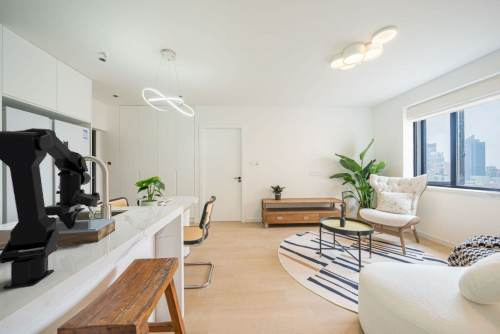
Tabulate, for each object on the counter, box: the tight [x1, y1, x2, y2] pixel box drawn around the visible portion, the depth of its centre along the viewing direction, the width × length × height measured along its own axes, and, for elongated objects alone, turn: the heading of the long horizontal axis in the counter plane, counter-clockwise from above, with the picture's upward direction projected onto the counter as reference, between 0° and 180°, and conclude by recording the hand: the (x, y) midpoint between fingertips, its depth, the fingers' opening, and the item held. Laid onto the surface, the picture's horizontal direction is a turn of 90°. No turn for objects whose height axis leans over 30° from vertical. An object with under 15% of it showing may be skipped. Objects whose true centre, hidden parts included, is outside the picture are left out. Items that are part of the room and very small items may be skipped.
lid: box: [56, 218, 116, 234], centre depth 77 cm, size 15×15×4 cm
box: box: [57, 220, 116, 246], centre depth 79 cm, size 14×14×5 cm
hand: (70, 228), depth 69 cm, fingers closed
